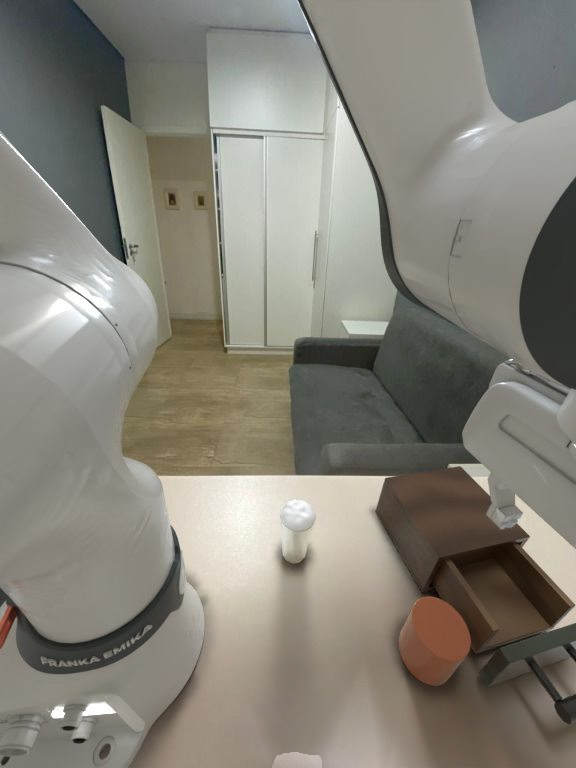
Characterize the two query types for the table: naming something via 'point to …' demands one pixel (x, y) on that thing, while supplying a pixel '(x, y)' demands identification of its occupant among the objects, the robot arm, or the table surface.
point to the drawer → (511, 615)
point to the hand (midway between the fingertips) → (551, 576)
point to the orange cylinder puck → (433, 641)
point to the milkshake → (296, 529)
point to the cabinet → (439, 520)
